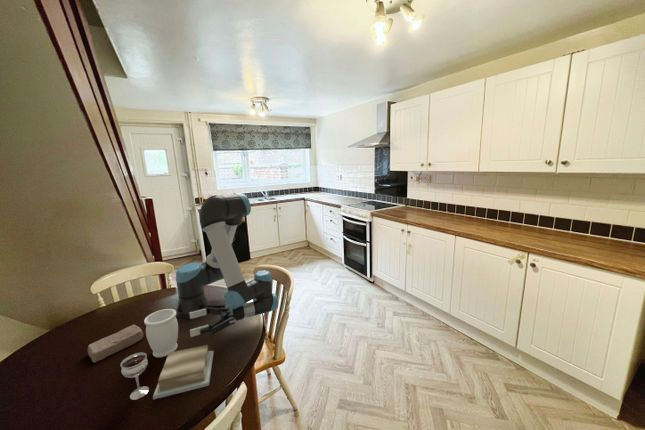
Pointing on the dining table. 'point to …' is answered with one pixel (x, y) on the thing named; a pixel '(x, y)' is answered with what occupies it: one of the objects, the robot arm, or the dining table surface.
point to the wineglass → (135, 372)
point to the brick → (114, 343)
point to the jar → (162, 332)
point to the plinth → (184, 368)
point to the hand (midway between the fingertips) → (189, 324)
